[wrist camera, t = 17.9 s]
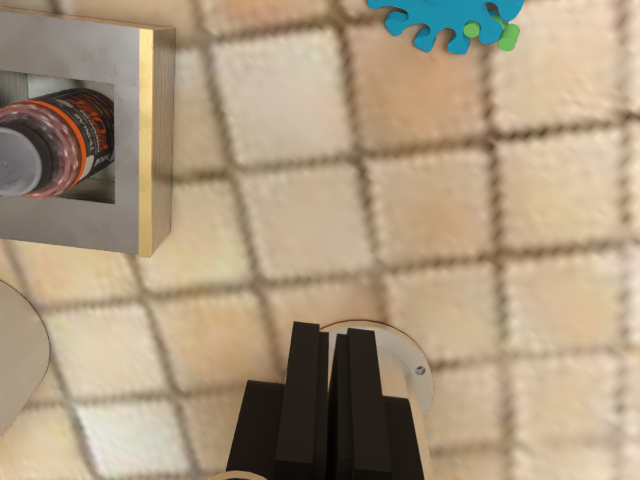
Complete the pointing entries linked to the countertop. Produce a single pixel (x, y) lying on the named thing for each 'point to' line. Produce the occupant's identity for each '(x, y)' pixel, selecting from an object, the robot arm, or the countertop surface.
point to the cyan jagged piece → (455, 21)
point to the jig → (129, 128)
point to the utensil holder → (19, 354)
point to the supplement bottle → (54, 142)
